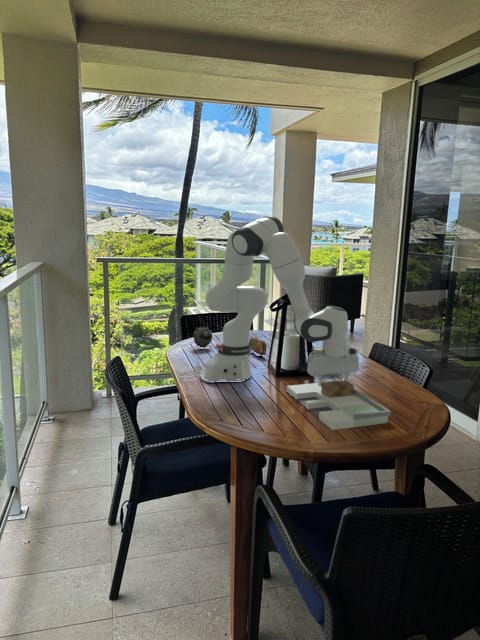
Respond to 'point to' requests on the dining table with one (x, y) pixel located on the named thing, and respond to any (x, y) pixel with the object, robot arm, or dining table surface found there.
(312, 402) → the trap board
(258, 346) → the brown rounded lump
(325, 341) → the robot arm
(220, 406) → the dining table surface
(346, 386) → the walnut bar
